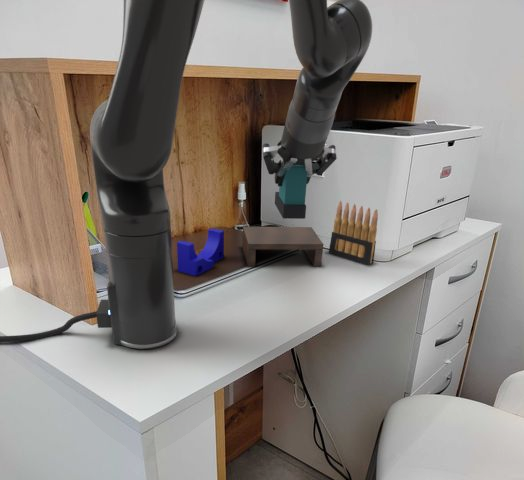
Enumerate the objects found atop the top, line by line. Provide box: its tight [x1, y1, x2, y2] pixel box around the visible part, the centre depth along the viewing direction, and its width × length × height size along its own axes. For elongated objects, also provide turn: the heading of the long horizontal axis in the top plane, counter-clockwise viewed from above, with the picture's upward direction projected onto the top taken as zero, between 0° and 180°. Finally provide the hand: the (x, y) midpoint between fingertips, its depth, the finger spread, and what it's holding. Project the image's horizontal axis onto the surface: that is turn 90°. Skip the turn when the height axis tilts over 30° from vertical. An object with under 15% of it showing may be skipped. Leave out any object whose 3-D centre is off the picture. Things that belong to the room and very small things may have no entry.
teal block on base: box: [274, 165, 308, 220], centre depth 98 cm, size 4×11×10 cm, turn 7°
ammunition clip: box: [328, 200, 379, 266], centre depth 109 cm, size 11×2×12 cm, turn 51°
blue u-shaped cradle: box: [176, 228, 225, 277], centre depth 103 cm, size 12×4×6 cm, turn 149°
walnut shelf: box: [241, 226, 324, 268], centre depth 110 cm, size 16×12×5 cm
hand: (290, 182), depth 98 cm, fingers closed on teal block on base, 4 cm apart
